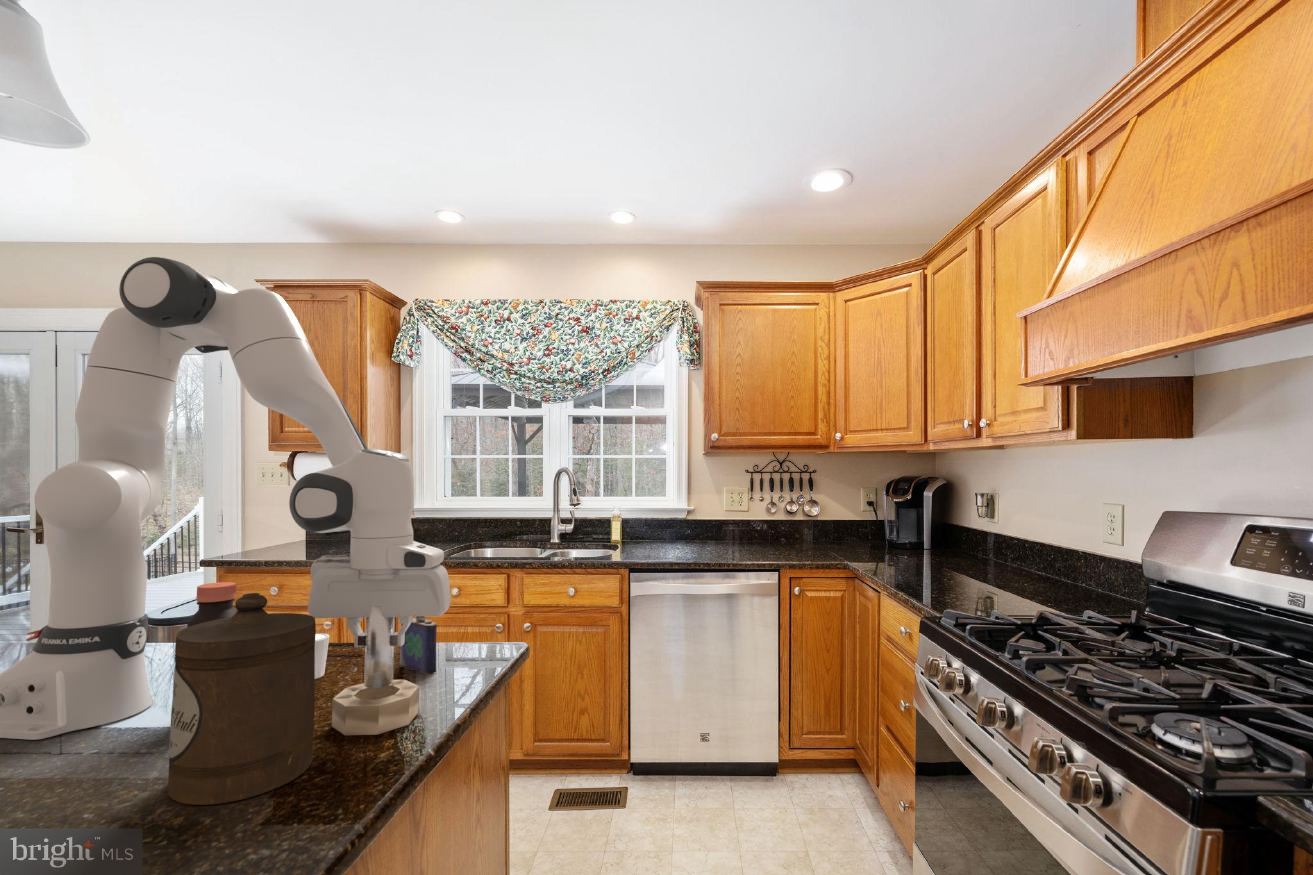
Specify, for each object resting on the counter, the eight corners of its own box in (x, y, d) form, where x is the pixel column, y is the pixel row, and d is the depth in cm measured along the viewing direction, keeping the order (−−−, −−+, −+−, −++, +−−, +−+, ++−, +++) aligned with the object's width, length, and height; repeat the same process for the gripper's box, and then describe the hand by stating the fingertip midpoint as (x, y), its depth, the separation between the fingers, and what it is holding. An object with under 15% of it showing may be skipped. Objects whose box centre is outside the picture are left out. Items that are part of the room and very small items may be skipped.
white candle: (359, 688, 90) (362, 586, 91) (370, 679, 94) (372, 581, 95) (387, 687, 90) (390, 585, 91) (396, 678, 94) (399, 581, 95)
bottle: (219, 727, 88) (225, 588, 89) (170, 728, 88) (177, 589, 89) (247, 709, 95) (253, 580, 96) (202, 710, 95) (208, 581, 96)
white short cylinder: (308, 683, 107) (310, 643, 107) (275, 680, 108) (277, 641, 108) (336, 671, 113) (338, 633, 114) (305, 668, 115) (306, 631, 115)
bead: (321, 736, 86) (322, 707, 86) (353, 706, 96) (354, 680, 97) (401, 733, 86) (402, 705, 87) (424, 704, 97) (425, 679, 98)
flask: (396, 666, 116) (398, 610, 117) (410, 662, 119) (411, 607, 120) (427, 675, 112) (429, 616, 112) (441, 671, 114) (442, 613, 115)
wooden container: (188, 759, 78) (197, 588, 80) (318, 739, 84) (324, 580, 86) (146, 819, 65) (158, 611, 66) (304, 790, 71) (312, 600, 72)
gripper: (301, 558, 89) (298, 653, 88) (443, 556, 91) (441, 650, 90) (321, 552, 95) (318, 641, 94) (454, 551, 97) (452, 638, 96)
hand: (379, 645), depth 92 cm, fingers closed on white candle, 4 cm apart
